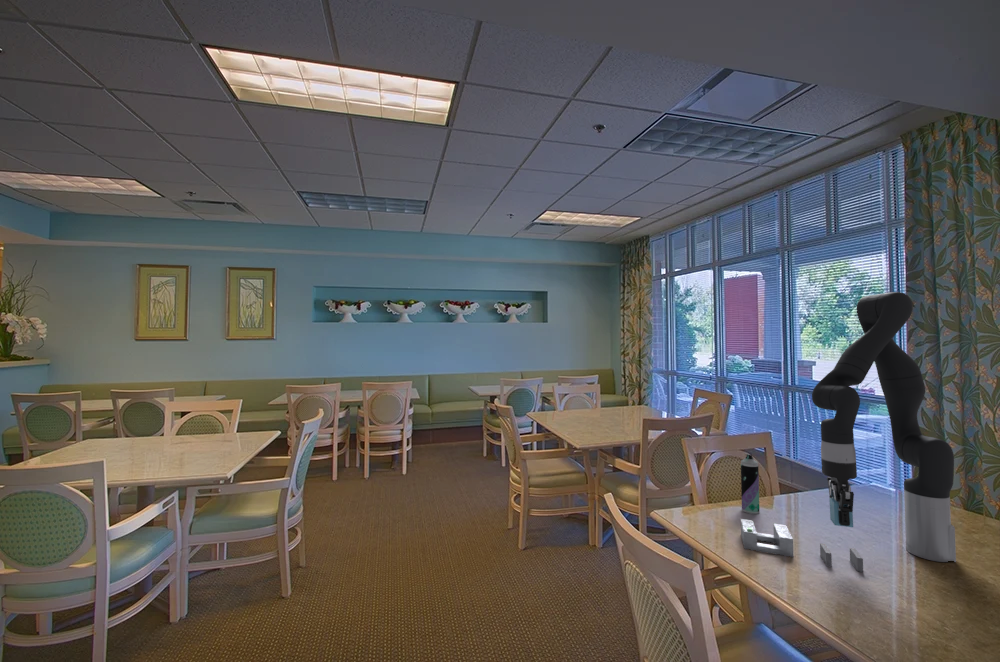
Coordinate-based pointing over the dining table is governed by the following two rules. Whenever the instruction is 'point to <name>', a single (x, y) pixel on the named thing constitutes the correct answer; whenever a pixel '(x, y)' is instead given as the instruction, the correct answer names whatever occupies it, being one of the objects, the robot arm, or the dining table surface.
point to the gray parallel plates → (854, 557)
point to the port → (767, 539)
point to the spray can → (750, 485)
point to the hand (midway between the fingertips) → (841, 521)
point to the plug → (834, 513)
